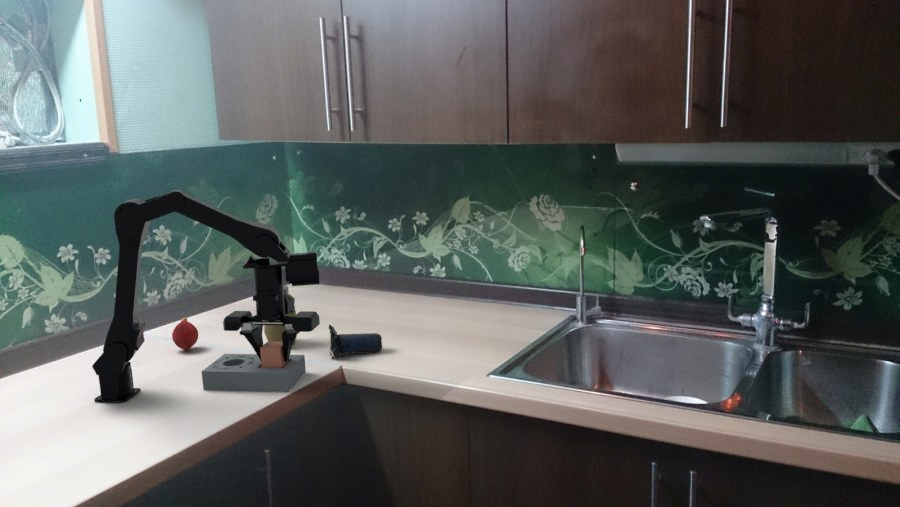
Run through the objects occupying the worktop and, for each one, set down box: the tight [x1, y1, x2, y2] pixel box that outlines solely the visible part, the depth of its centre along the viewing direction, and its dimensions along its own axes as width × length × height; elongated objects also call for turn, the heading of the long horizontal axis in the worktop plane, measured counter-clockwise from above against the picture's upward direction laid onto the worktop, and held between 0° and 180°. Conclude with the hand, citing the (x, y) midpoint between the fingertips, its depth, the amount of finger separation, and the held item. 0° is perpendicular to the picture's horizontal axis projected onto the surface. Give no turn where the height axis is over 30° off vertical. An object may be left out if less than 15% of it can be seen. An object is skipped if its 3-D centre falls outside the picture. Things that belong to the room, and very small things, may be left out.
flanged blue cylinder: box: [328, 324, 383, 360], centre depth 173 cm, size 9×8×12 cm
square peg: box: [260, 341, 289, 368], centre depth 156 cm, size 4×4×7 cm
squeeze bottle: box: [263, 284, 298, 347], centre depth 179 cm, size 8×8×18 cm
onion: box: [171, 317, 199, 351], centre depth 179 cm, size 6×6×8 cm
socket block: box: [201, 353, 307, 393], centre depth 157 cm, size 11×18×4 cm, turn 82°
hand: (274, 360), depth 156 cm, fingers open, 5 cm apart
